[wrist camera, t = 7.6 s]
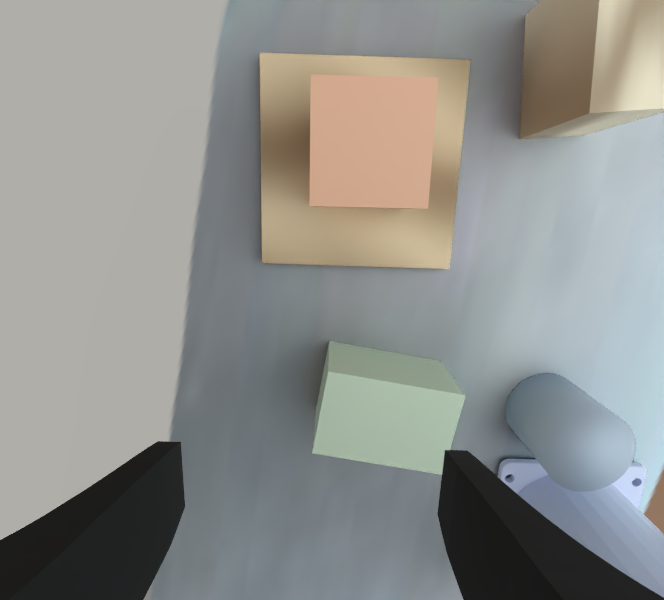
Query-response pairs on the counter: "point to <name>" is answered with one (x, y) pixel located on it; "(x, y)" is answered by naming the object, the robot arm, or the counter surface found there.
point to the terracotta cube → (371, 141)
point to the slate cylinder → (570, 432)
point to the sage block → (386, 408)
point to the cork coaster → (353, 223)
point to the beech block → (591, 65)
